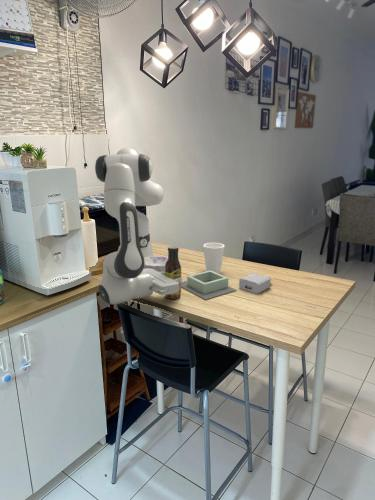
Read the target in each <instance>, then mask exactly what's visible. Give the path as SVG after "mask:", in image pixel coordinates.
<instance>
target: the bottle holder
mask: <svg viewBox="0 0 375 500" xmlns="http://www.w3.org/2000/svg"><path fill="white" fill-rule="evenodd" d="M186 279H187V280H186V281H187V285H188V286H190V287H192V288H194V289H196V290H197V291H199V292H201V293H203V294H206V293H209V292H213V291H216V290H220V289H223V288H227V287H228V286H229V277H227V276H225V275H223V274H221V273H220V274H218V273H216V272H213V271H211V270H210V271H206V270H205V271H203V272H199V273H194V274H191V275H187V276H186ZM206 281H210V282H207V283H204V282H206Z"/></svg>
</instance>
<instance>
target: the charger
mask: <svg viewBox="0 0 375 500" xmlns="http://www.w3.org/2000/svg"><path fill="white" fill-rule="evenodd" d="M271 281H273V280H272V278H271V276H269V275H265V274H262V275H260V274H258V273H255V272H254V273H250V274H249V275H246V276H243V277H241V278H239V281H238V288H239V289H240V290H243V291H246V292H250V293H253V294H256V295H257V294H260V293H262V292H264V291H265V290H268V289H269V288H271Z"/></svg>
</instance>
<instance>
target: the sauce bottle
mask: <svg viewBox="0 0 375 500" xmlns="http://www.w3.org/2000/svg"><path fill="white" fill-rule="evenodd" d="M179 249H180V248H179V246H176V245H170V246H168V247H167V252H168V253H167V254H168V256H167V257H168V260H167V262H166V264H165V276H167V277H169V278H171V279H174V280H175V279H176V278H177V277H180V278H182V265H181V263H180V260H179ZM181 293H182V287H181V283H179V291H178V292H177V293H173V294H168V295H165V298H166V299H169V300H177V299H179V298H180V297H181V295H182V294H181Z"/></svg>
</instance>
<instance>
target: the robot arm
mask: <svg viewBox="0 0 375 500" xmlns="http://www.w3.org/2000/svg"><path fill="white" fill-rule="evenodd" d="M153 169H154V168H153V163H152V161H151V158H150V157H149V156H148V155H146V154H142V153H139V154H138V153H137V151H136V150H135V149H133V148H131V147H124V148H120V150H118V151H117V153H116V154H109V155H107V154H103V155H100V156H98V157H97V158H96V161H95V165H94V173H95V175H96V178H97V180H98V181H99V182H101V183H104V185H103V205H104V209H105V211H106V212H107V214H108V215H110V216H111V217H112V218H115V219H116V221H117V222H118V226H119V243H120V245H119V246H118V249H117V251H113V252H110V253H108V254H107V255H105V257H104V259H103V262H102V275H101V276H102V277H101V281H100V283H99V285H98V293H99V295H100V298H101V299H102V300H103V301H104V303H106V304H108V305H118V304H123V303H126V302H130V301H132V300H134V299H142V298H145V297H150V296H151V295H153V293H156V294H158V295H160V296H166V295H168V294H173V293H177V292H178V291H179V283H181V282H183V279H182V277H181V278H180V277H177V278H176V279H175V280H174V279H171V278H169V277H167V276H165V272H157V271H156V270H154V269H151V268H147V269H144V264H145V262H144V258H145V257H151V256H154V252H153V243H151V234H150V228H149V225H150V224H149V218H148V216H147V215H146V214H144V212H143V213H142V212H141V211H139V210H138V209H137V208H136V207H151V206H157V205H159V204H161V202H162V201H163V199H164V190H163V189H164V188H163V187H162V186H161V185H160V184H158V183H156V182H154V181H152V180H150V179H151V177H152V173H153Z"/></svg>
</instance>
